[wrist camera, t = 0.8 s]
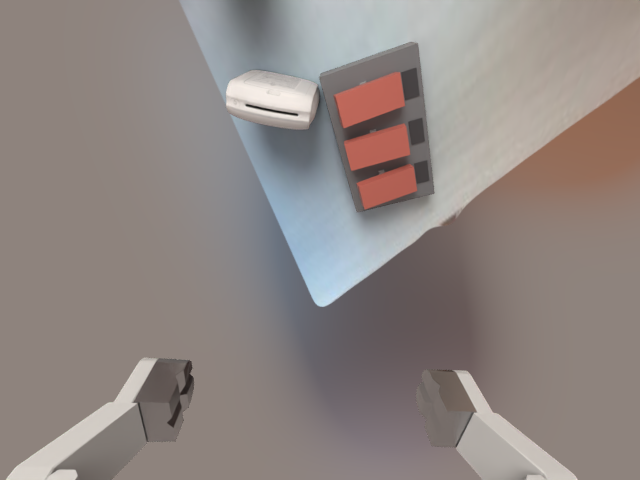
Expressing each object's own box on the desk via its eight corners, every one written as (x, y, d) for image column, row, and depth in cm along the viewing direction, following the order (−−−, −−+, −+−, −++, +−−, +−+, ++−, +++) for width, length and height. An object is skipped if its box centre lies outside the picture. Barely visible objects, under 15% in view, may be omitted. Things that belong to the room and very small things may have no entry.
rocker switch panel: (410, 41, 38) (419, 43, 35) (427, 182, 49) (435, 195, 45) (320, 73, 41) (319, 78, 37) (355, 200, 52) (357, 214, 48)
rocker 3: (409, 163, 43) (413, 166, 42) (413, 187, 45) (417, 190, 44) (356, 182, 43) (358, 186, 42) (362, 205, 45) (364, 209, 44)
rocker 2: (404, 123, 39) (406, 126, 38) (408, 151, 41) (410, 154, 40) (344, 141, 41) (344, 144, 40) (350, 167, 43) (351, 170, 42)
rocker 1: (395, 71, 36) (400, 72, 35) (400, 104, 39) (404, 105, 37) (333, 95, 37) (335, 96, 36) (341, 126, 39) (343, 128, 38)
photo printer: (246, 99, 43) (218, 121, 33) (247, 65, 41) (218, 78, 30) (317, 113, 44) (312, 140, 34) (322, 81, 41) (318, 98, 31)
